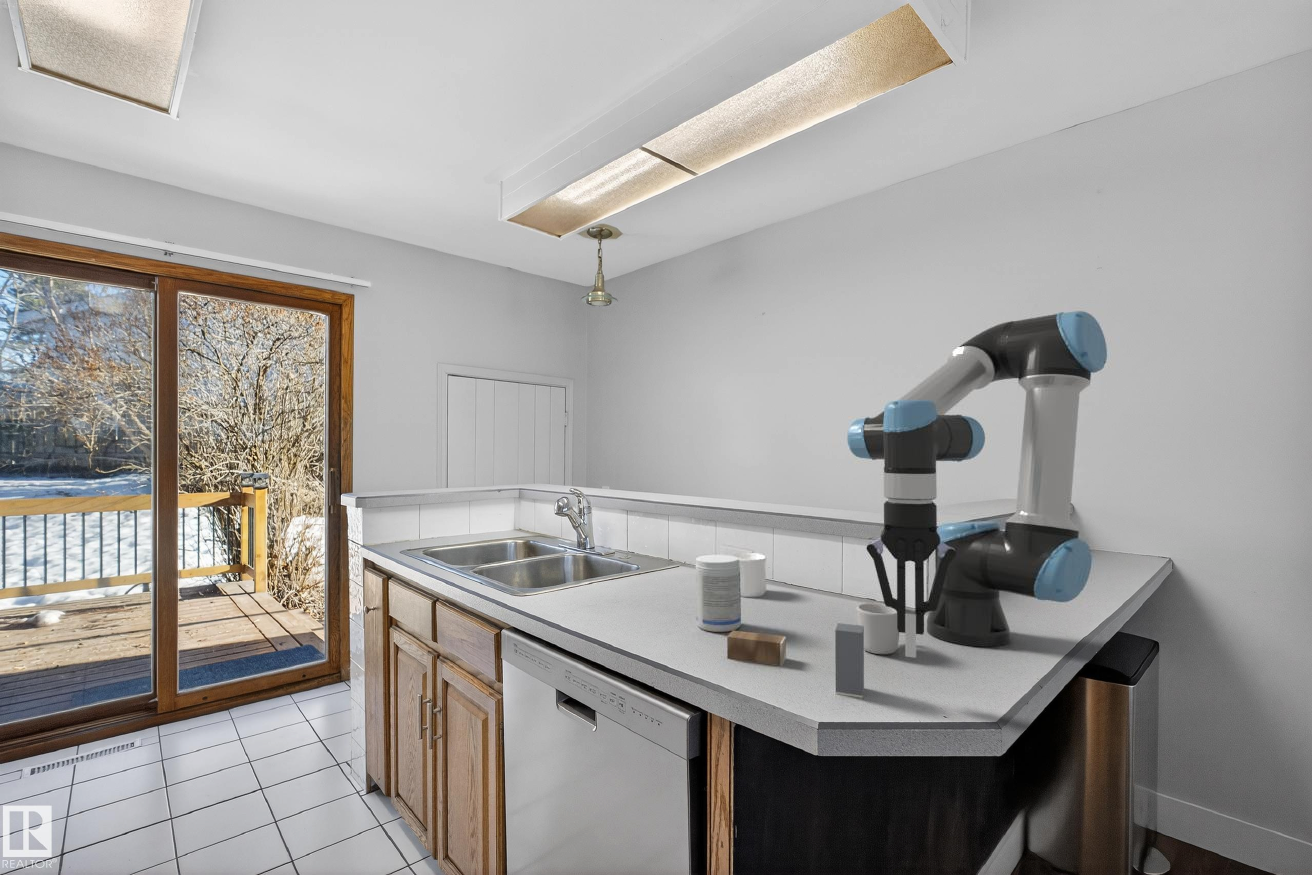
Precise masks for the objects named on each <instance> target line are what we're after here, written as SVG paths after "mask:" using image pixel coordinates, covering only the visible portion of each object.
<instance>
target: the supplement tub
mask: <svg viewBox="0 0 1312 875" xmlns="http://www.w3.org/2000/svg"><path fill="white" fill-rule="evenodd" d="M695 595H696V596H695V600H696V601H695V603H696V604H695V606H696V610H695V612H696V625H697V626H698V628H699V629H701V630H704V631H707V632H708V631H709V632H714V633H726V632H732V631H737V629H739V628H740V627H741V624H742V612H741V610H742V605H741V604H742V603H741V598H742V597H741V592H740V564H739V558H737V557H735V556H732V555H728V554H707V555H701V556H698V557H696V559H695Z"/></svg>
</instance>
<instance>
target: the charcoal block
mask: <svg viewBox="0 0 1312 875" xmlns="http://www.w3.org/2000/svg"><path fill="white" fill-rule="evenodd" d="M834 632H835V640H834V641H835V644H834V645H835V649H834V650H835V657H834V658H835V663H834V664H835V694H836V695H842V696H850V697H855V698H864V690H865V658H864V657H865V656H864V655H865V649H864V626H861V625H858V624H852V623H851V624H850V623H849V624H848V623H842V622H841V623H840V622H839V623H837V624H836V627H835V631H834Z"/></svg>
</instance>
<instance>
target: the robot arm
mask: <svg viewBox="0 0 1312 875" xmlns="http://www.w3.org/2000/svg"><path fill="white" fill-rule="evenodd" d="M1105 337H1106V336H1105V334H1104V331H1103V330H1102V327H1101V325H1100V323H1099V322H1098V320H1097V319H1096V318H1095V317H1094V315H1092V314H1090V313H1088V312H1087V311H1084V310H1083V311H1082V310H1079V311H1078V310H1077V311H1069V312H1064V311H1062V312H1058V313H1055V314H1054V313H1053V314H1049V315H1048V314H1047V315H1043V316H1037V317H1036V316H1035V317H1032V318H1025V319H1019V320H1012V321H1006V322H1001V323H1000V324H996V325H994V326H991V327H990V328H987V329H985V330H984V331H981V332H980V333H978V334H976V335H974V336H973V337H971V338H970V339H968V340H966V341H965V342H964V343H962V344H961V345H960V346H958V347H957V348H956V349H954V350H953V351H952V352H951V353H950V354H949V356H948V359H947V361H946V362H945V363H944V364H943V365H941V366H940V367H939V368H938V369H936V370H935V371H934V372H932V373H930V375H929V376H927V377H926V378H925V379H923V380H922V381H921V382H919V383H918V384H917V385H915V387H913V388H912V389H910V390H909V391H907V392H906V393H905V394H904V395H903V396H901V397H900V398H899V399H897V400H893V401H890V402H889V401H888V403H887V404H885V406H884V408H883V409H884V410H883V411H882V412H880V413H879V414H877V415H876V416H874V417H869V416H867V417H865V418H858V419H856V420H854V421H852V422H851V424H850V426H849V427H848V430H847V437H846V440H847V441H846V442H847V445H848V447H849V451H850V452H851V453H852V454H853V456H855V457H857V458H860V459H867V460H872V461H876V460H883V461H884V462H883V463H884V466H883V497H885V499H887V500H885V502H884V503H883V529H882V531H881V534H880V538H877V539H876V540H874V541H872V542H868V543H867V545H866V551H867V553H868V554H869V555H870V557H871V558H872V560H873V563H874V568H875V571H876V574H877V575H876V576H877V579H878V583H879V587H880V591H881V594H882V598H883V602H884V603H883V604H885V605H886V606H887V607H891V608H893V609H895V610H896V611H897V630H898V632H899V633H902V634H903V633H904V634H905V636H904V637H905V640H904V641H905V643H904V644H905V645H904V646H905V650H904V651H905V657H906V658H907V657H908V658H917V635H921V636H922V635H924V632H925V614H926V613H928V612H929V613H928V615H927V617H926V631H927V633H928V634H930V635H931V636H933V637H935V638H936V639H940V640H942V641H945V642H949V643H953V644H958V645H964V646H971V647H998V646H999V647H1000V646H1004V645H1006V644H1008V643H1010V640H1011V631H1010V626H1009V624H1008V621H1007V618H1006V615H1005V613H1004V610H1003V607H1002V604H1001V600H1000V592H1004V593H1010V594H1014V595H1018V596H1023V597H1028V598H1033V599H1037V600H1039V601H1051V602H1056V603H1068V602H1070V601H1073V600H1074V599H1076V598H1077V597H1078V596H1079V595H1080V594H1081V592H1082V591H1083V590H1084V589H1085V586H1086V585H1087V583H1088V581H1089V577H1090V573H1091V569H1092V563H1093V562H1092V559H1093V558H1092V557H1093V556H1092V554H1091V551H1092V550H1091V548H1090V545H1089V544H1088V542H1086V541H1085V540H1083V539H1081V538H1079V535H1080V533H1079V531H1080V530H1079V528H1078V527H1077V526H1076V525H1075V524H1074V523H1073V521H1071V519H1070V518H1071V507H1072V495H1073V494H1072V493H1073V481H1074V480H1073V479H1074V469H1075V468H1074V467H1075V454H1076V444H1077V443H1076V440H1077V430H1078V421H1079V420H1078V419H1079V407H1080V406H1079V404H1080V394H1081V392H1082V391H1084V390H1085V389H1086V388H1088V387H1089V386H1090V385H1091V376H1092V373H1093V374H1094V373H1098V372H1100V371H1102V370H1103V369H1104V368H1105V364H1106V363H1107V358H1108V352H1107V351H1108V349H1107V348H1108V347H1107V342H1106V339H1105ZM1011 379H1012V380H1013V379H1018V380H1017V382H1018V385H1019V386H1020V387H1021V388H1023V389H1024V390H1025V392H1026V394H1025V403H1024V404H1025V405H1024V414H1023V426H1022V427H1023V428H1022V438H1021V450H1020V459H1019V472H1018V483H1017V484H1018V485H1017V495H1016V503H1015V504H1016V507H1015V513H1014V514H1013V515H1011V517H1008V518H1007V519H1006V520H1005V526H1004V527H1005V528H1004V530H1000V529H1001V526H1000V524H999V522H998V521H990V520H986V521H983V520H981V521H961V522H948V523H944V524H943V523H942V524H940V525H939V526H938V523H937V522H938V520H937V519H938V518H937V517H938V514H937V512H938V509H937V508H938V506H937V504H936V503H935V502H934V501H933V500H936V499H937V496H938V494H937V462H958V463H960V462H962V461H966V460H967V461H968V460H971V459H974V458H975V457H976V456H978V455H979V454H980V453H981V452H982V450H983V449H984V446H985V442H986V434H985V431H984V428H983V426H982V424H981V423H980V422H979V421H978V420H976V419H975V418H973V417H971V416H966V415H962V414H947V413H948V412H949V411H950V410H952V409H953V408H954V407H955V406H957V405H958V404H959V403H960V402H961V401H962V400H963V399H965V398H966V397H967V396H968V395H969V394H971V393H972V392H973V391H975V390H981V389H984V388H985V387H987V386H988V385H990V384H991V383H993V382H997V381H1002V380H1003V381H1004V380H1011ZM937 526H938V527H937ZM883 546H885V548H886V549H887V550H888V552H889V553H890V554H891V556H892V557H893V558H894V559H895V560H896V598H894V597H893V594H892V589H891V585H890V582H889V578H888V575H887V574H888V573H887V570H886V566H885V562H884V559H883V556H882V555H883V553H884V548H883ZM933 553H934V555H935V558H934V559H935V560H934V561H935V563H934V564H935V565H934V566H935V574H934V577H933V581H932V584H931V589H930V592H929V596H928V599H927V600H925V581H924V580H925V574H924V572H925V568H924V567H925V562H926V561H927V560H928V559H929V558H930V557H931V555H932V554H933ZM907 562H913V563H914V592H915V593H914V605H915V606H914V608H915V609H908V608H906V563H907Z"/></svg>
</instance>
